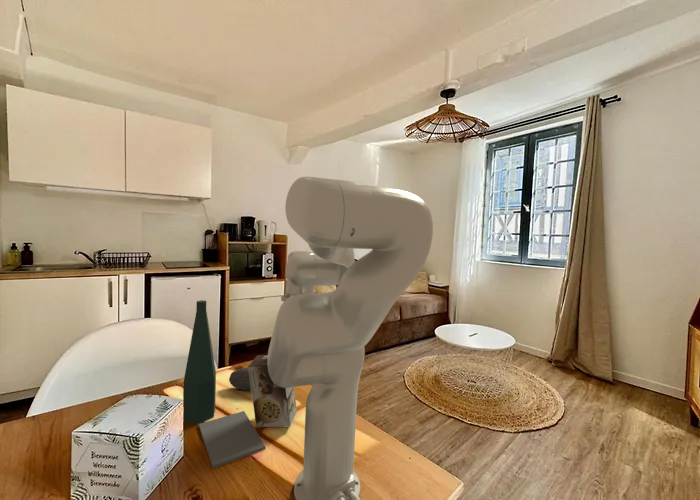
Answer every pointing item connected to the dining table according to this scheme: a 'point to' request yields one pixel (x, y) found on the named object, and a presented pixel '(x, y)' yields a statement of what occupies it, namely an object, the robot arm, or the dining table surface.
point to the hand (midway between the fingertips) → (297, 365)
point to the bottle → (200, 372)
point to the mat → (230, 438)
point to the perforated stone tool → (240, 379)
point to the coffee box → (270, 397)
